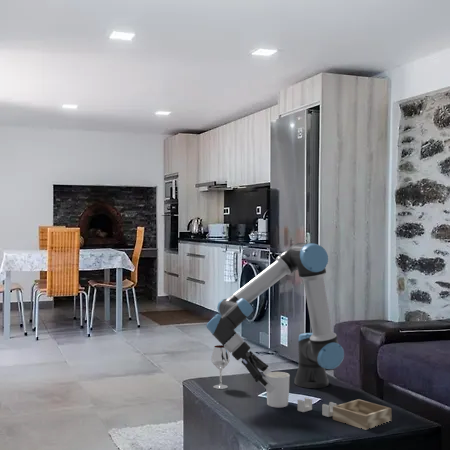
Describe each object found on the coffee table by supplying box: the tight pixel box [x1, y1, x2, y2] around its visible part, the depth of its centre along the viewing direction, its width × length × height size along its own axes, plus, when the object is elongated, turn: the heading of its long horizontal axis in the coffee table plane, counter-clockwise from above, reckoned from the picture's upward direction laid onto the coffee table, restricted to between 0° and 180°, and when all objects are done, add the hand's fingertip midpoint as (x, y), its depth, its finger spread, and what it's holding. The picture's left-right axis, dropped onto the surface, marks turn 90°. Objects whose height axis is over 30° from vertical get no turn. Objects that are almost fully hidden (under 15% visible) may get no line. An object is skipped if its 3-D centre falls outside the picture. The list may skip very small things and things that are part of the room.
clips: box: [297, 397, 338, 418], centre depth 234 cm, size 8×13×4 cm, turn 39°
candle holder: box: [264, 371, 291, 409], centre depth 245 cm, size 10×10×12 cm
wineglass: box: [211, 344, 231, 390], centre depth 271 cm, size 8×8×18 cm
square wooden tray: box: [332, 398, 392, 431], centre depth 225 cm, size 15×15×5 cm
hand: (274, 386), depth 244 cm, fingers open, 13 cm apart
